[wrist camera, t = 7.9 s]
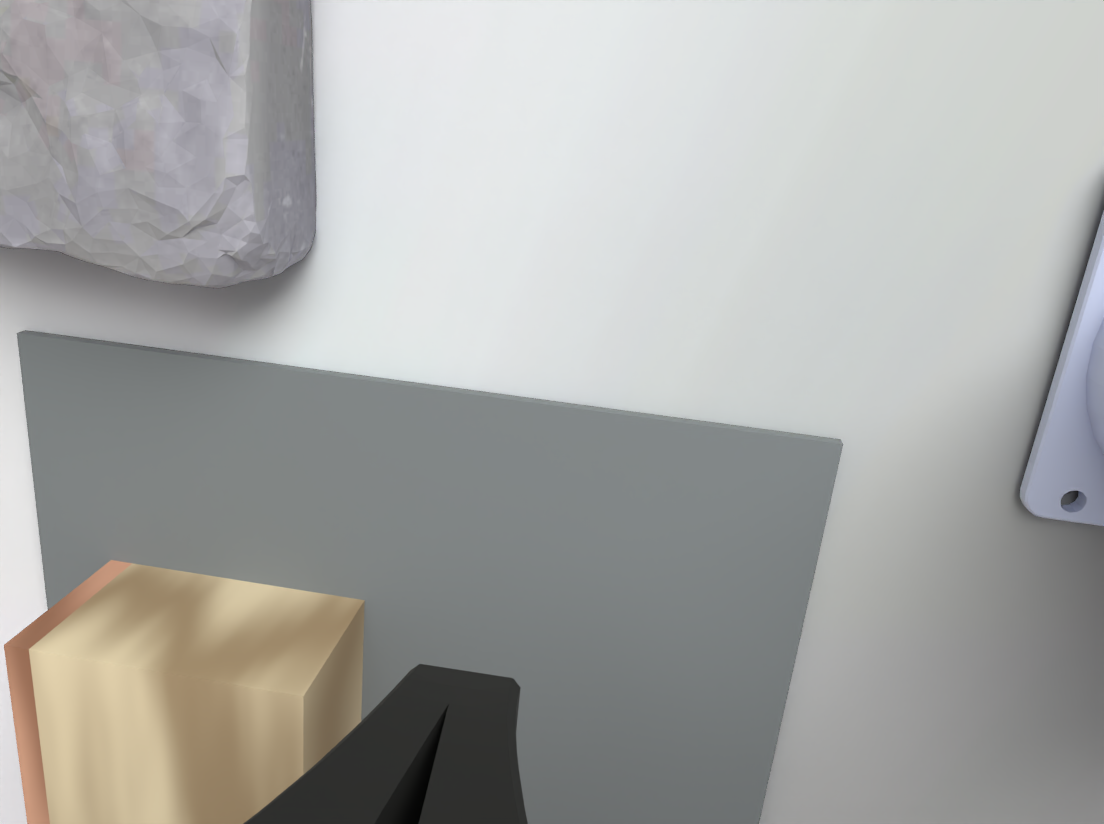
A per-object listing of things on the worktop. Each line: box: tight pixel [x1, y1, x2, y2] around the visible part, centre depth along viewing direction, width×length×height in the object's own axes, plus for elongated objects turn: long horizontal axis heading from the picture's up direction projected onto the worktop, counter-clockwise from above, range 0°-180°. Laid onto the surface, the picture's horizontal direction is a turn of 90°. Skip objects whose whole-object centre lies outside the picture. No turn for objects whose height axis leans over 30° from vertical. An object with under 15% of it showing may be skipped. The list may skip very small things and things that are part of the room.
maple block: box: [4, 560, 365, 824], centre depth 22 cm, size 4×6×7 cm
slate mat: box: [17, 330, 843, 824], centre depth 24 cm, size 20×16×1 cm
